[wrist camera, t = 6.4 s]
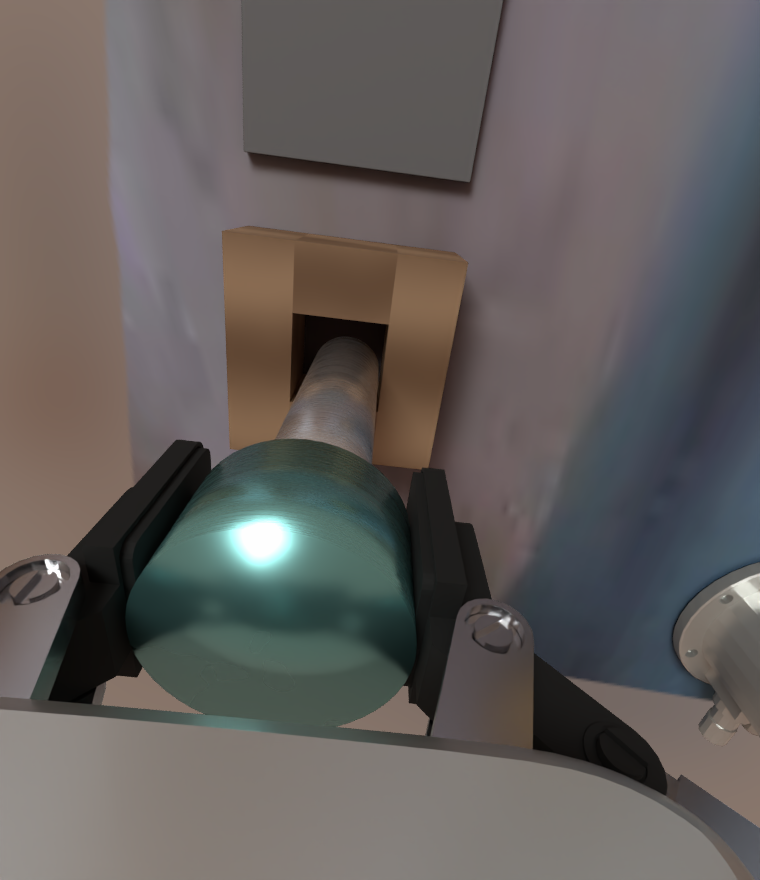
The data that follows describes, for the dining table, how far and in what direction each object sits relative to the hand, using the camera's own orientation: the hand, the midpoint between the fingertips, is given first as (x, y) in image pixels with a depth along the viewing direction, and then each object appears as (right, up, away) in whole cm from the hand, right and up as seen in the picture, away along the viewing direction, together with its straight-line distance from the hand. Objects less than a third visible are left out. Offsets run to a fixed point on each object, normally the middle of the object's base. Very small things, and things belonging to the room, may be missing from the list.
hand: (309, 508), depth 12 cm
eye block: (0, +7, +13) cm, 15 cm away
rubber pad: (+1, +18, +7) cm, 20 cm away
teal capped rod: (0, +5, +10) cm, 11 cm away
